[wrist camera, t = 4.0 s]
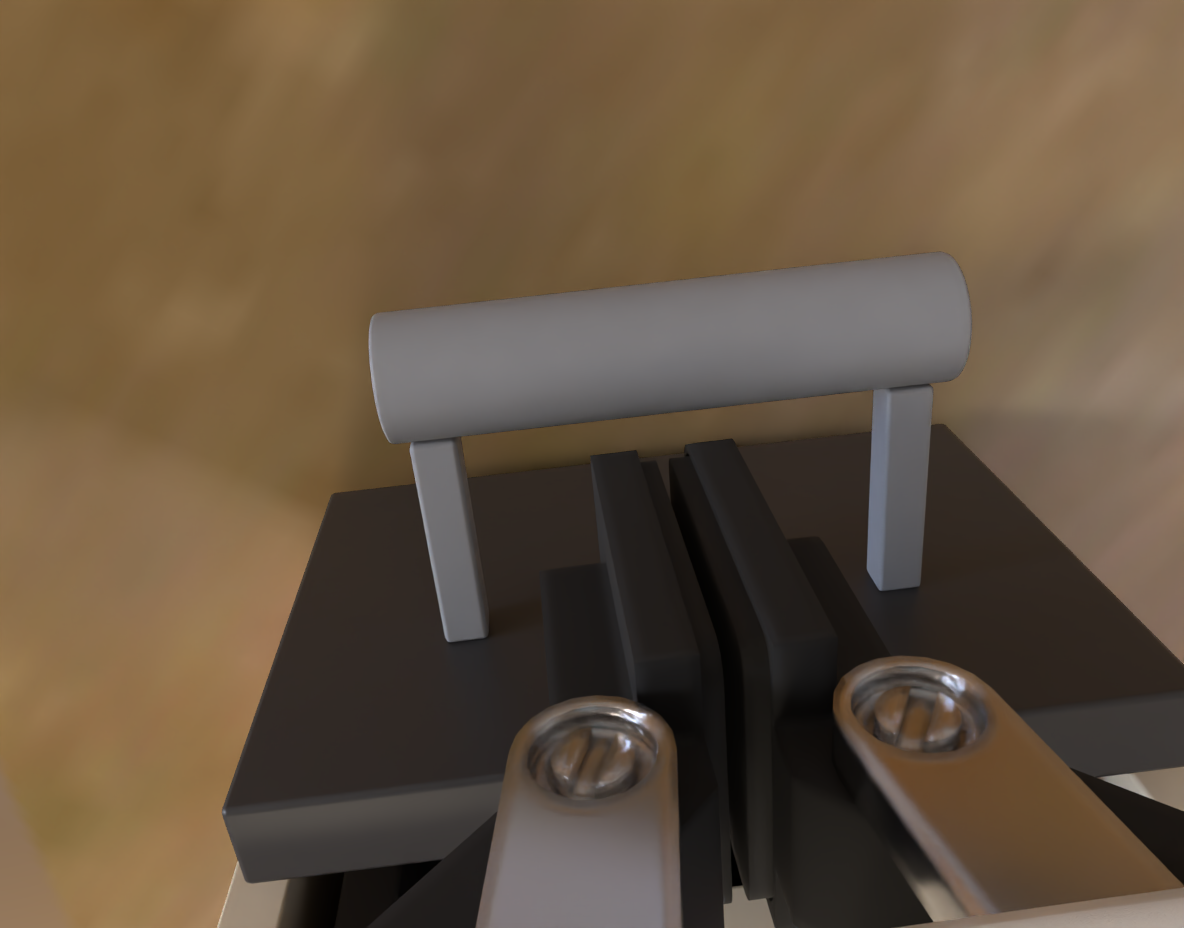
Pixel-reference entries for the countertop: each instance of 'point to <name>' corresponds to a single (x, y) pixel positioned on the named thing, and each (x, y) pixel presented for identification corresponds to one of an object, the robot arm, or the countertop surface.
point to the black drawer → (569, 538)
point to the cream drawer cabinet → (309, 904)
